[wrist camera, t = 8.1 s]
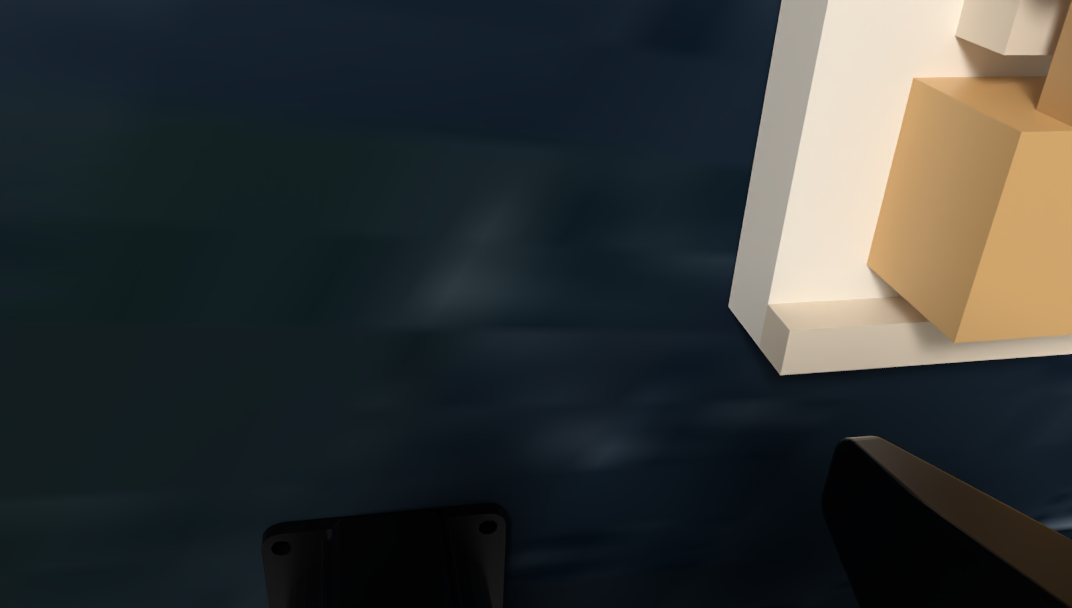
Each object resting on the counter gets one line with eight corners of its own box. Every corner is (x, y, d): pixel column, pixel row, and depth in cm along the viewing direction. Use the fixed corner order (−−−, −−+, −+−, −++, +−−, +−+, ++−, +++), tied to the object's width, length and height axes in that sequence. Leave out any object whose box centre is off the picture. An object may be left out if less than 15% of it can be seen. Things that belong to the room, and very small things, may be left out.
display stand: (1296, -445, 17) (1504, -495, 14) (1031, 289, 25) (1129, 359, 22) (868, -499, 16) (1000, -569, 12) (728, 306, 23) (787, 385, 20)
